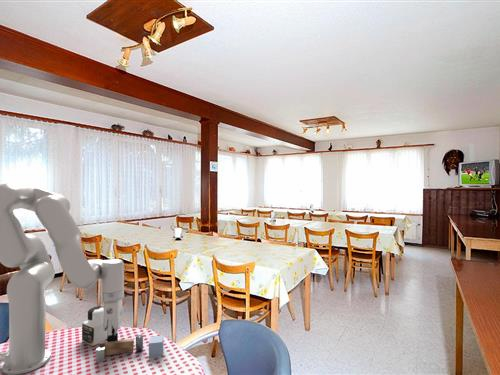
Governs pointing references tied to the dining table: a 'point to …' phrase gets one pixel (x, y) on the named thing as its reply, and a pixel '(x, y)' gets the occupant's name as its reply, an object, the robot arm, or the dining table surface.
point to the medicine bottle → (94, 327)
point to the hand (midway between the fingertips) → (112, 345)
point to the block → (156, 346)
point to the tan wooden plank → (117, 346)
